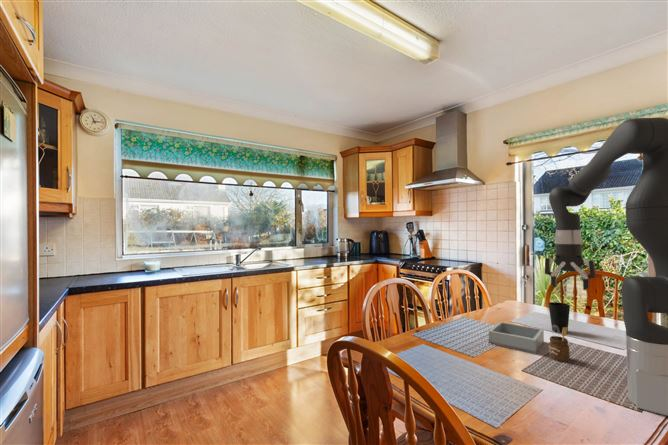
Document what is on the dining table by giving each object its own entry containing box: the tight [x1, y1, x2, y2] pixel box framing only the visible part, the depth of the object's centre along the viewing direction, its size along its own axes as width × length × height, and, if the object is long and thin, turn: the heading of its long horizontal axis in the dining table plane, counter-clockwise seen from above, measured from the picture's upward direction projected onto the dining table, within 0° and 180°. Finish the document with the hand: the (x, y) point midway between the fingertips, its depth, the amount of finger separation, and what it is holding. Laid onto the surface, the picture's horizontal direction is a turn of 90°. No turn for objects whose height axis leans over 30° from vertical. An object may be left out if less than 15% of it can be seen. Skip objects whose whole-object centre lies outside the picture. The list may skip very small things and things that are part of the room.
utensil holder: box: [548, 325, 571, 362], centre depth 110 cm, size 6×6×12 cm
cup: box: [548, 301, 571, 334], centre depth 137 cm, size 8×8×12 cm
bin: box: [488, 321, 545, 355], centre depth 125 cm, size 16×16×5 cm
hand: (569, 288), depth 110 cm, fingers open, 8 cm apart
